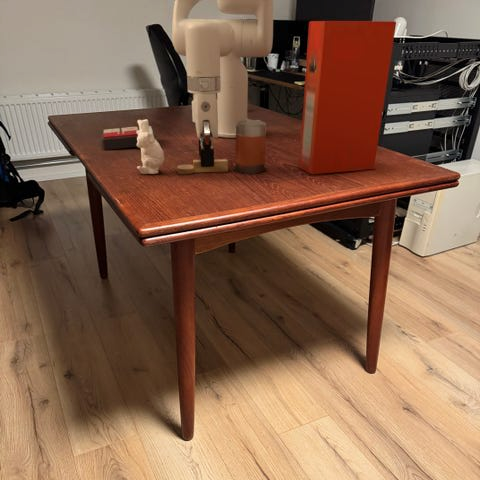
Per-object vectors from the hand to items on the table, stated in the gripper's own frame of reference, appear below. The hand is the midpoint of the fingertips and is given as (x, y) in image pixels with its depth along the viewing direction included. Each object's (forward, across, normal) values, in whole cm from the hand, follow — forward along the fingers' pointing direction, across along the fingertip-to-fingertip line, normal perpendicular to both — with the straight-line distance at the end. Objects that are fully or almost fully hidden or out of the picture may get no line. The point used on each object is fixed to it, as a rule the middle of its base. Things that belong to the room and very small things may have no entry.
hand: (206, 161), depth 118 cm
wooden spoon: (+2, 0, +1) cm, 3 cm away
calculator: (+3, +30, +21) cm, 37 cm away
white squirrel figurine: (+3, 0, +14) cm, 14 cm away
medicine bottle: (+3, +62, -3) cm, 62 cm away
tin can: (+2, 0, -11) cm, 11 cm away
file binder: (+3, 0, -33) cm, 33 cm away
